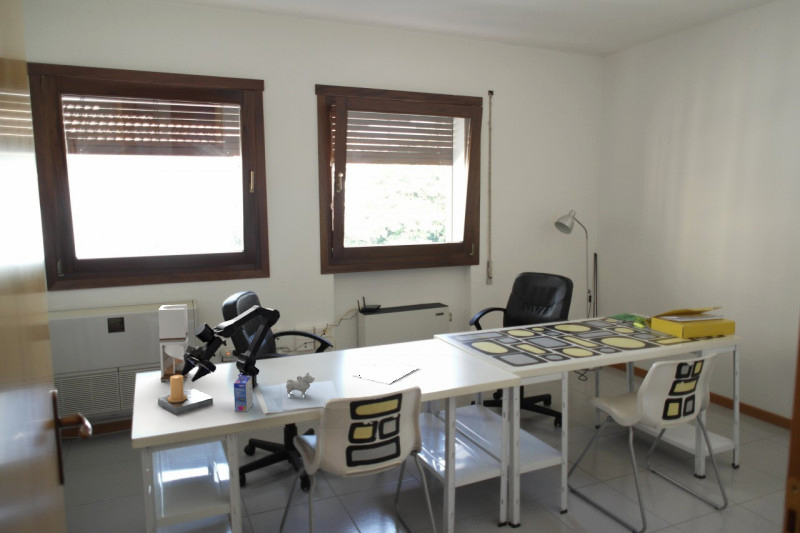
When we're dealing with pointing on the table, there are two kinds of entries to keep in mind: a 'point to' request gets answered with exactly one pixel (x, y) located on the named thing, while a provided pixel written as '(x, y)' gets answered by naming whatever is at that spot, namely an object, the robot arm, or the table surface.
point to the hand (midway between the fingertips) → (186, 378)
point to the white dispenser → (173, 340)
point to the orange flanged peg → (176, 390)
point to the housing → (186, 402)
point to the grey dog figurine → (300, 383)
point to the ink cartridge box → (243, 393)
